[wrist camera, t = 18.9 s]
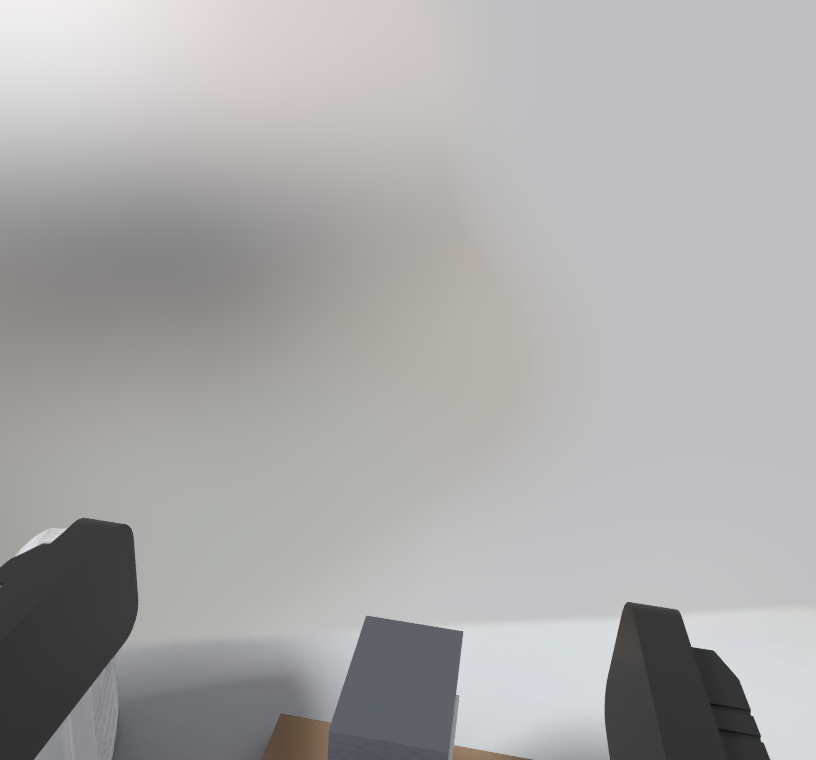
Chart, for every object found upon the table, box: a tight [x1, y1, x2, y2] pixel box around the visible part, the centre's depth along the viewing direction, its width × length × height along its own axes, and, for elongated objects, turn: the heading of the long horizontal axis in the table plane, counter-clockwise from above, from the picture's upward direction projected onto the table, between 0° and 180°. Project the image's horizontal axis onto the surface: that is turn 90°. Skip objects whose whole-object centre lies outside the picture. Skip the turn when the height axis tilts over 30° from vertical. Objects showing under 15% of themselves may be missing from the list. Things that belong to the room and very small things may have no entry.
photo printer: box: [15, 528, 119, 760], centre depth 31 cm, size 10×4×12 cm, turn 14°
